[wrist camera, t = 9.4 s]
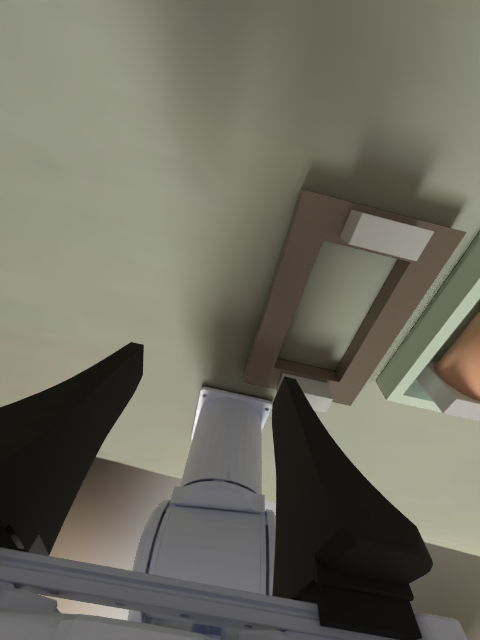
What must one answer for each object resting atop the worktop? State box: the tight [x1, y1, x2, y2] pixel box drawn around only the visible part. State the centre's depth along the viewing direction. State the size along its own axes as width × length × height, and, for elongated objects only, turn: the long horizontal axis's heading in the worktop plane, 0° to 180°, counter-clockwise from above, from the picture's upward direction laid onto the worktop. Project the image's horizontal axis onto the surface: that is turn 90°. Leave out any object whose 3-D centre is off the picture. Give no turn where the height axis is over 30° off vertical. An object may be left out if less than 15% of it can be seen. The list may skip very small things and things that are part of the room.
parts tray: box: [376, 232, 480, 412], centre depth 20 cm, size 15×9×2 cm, turn 167°
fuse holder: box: [243, 189, 466, 413], centre depth 20 cm, size 17×11×4 cm, turn 167°
